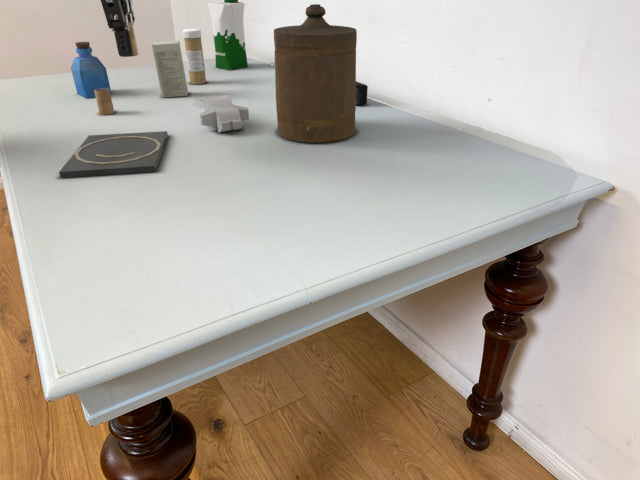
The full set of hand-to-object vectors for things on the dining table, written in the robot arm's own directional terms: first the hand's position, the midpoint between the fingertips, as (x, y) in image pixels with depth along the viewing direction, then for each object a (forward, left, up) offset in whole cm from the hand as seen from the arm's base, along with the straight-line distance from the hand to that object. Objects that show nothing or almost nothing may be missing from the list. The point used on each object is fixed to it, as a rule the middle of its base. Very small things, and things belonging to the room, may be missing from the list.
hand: (128, 53), depth 79 cm
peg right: (0, 0, 0) cm, 0 cm away
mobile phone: (+41, +24, -16) cm, 51 cm away
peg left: (-11, +22, -15) cm, 29 cm away
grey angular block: (+14, +9, -16) cm, 23 cm away
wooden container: (+31, +1, -16) cm, 35 cm away
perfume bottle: (-18, +41, -16) cm, 48 cm away
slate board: (-4, -6, -15) cm, 17 cm away
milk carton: (+15, +70, -16) cm, 74 cm away
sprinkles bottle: (+7, +49, -16) cm, 52 cm away
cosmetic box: (+2, +36, -16) cm, 40 cm away
